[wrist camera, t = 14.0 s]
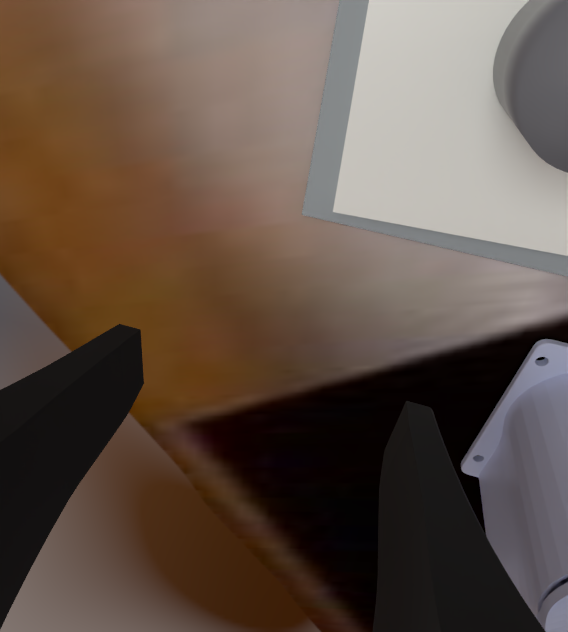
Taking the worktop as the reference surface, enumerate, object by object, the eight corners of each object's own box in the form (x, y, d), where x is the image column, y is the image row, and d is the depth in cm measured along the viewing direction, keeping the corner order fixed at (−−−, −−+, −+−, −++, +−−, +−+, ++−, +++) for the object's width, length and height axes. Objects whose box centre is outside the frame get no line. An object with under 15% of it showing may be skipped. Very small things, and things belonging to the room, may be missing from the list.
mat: (653, 292, 18) (656, 297, 18) (303, 211, 19) (301, 214, 19) (1078, -268, 9) (1095, -273, 9) (401, -339, 11) (400, -346, 11)
